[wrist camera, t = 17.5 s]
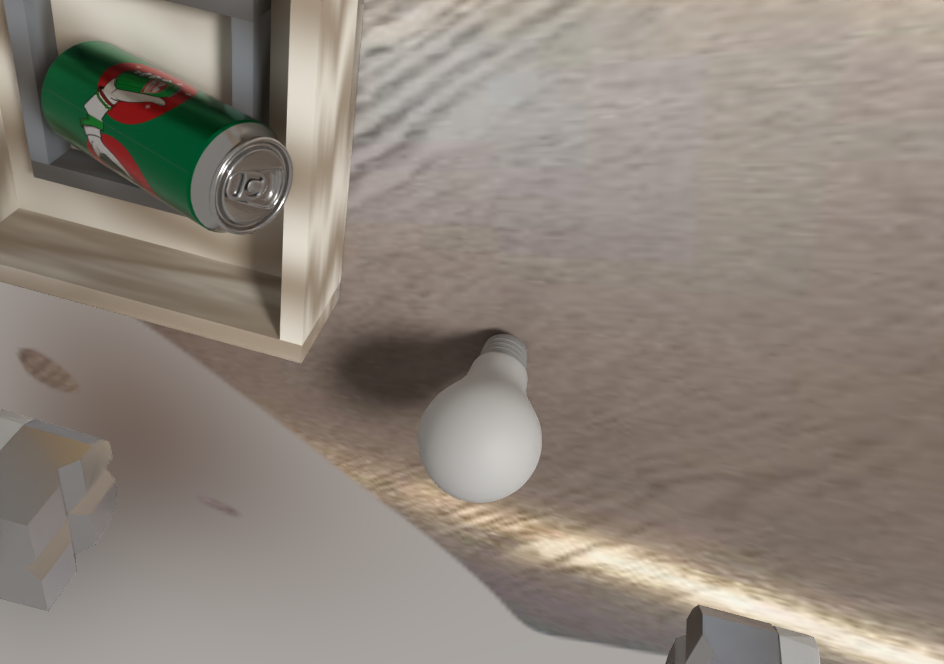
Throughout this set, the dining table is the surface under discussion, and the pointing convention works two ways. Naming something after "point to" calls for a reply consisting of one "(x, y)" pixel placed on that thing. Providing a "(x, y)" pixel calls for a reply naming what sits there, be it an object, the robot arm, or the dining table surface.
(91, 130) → the soda can
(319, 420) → the dining table surface
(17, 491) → the robot arm
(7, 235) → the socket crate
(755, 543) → the dining table surface
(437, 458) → the lightbulb
